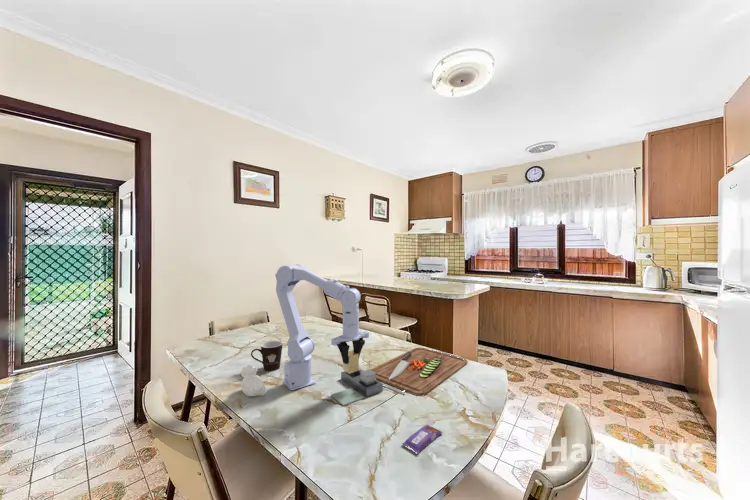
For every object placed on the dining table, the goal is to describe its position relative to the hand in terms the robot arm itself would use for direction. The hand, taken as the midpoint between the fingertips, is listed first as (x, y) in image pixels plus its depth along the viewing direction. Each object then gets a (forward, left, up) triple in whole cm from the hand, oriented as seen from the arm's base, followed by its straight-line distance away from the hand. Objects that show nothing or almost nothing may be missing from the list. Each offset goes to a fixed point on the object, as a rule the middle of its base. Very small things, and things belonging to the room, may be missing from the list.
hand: (350, 361), depth 99 cm
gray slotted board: (+5, +1, -10) cm, 11 cm away
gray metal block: (+5, -4, -10) cm, 12 cm away
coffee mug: (-18, +36, -10) cm, 42 cm away
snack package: (+1, -34, -11) cm, 35 cm away
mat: (-4, -4, -10) cm, 11 cm away
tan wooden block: (0, 0, -3) cm, 3 cm away
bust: (-29, +18, -10) cm, 35 cm away
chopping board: (+33, -2, -11) cm, 35 cm away
